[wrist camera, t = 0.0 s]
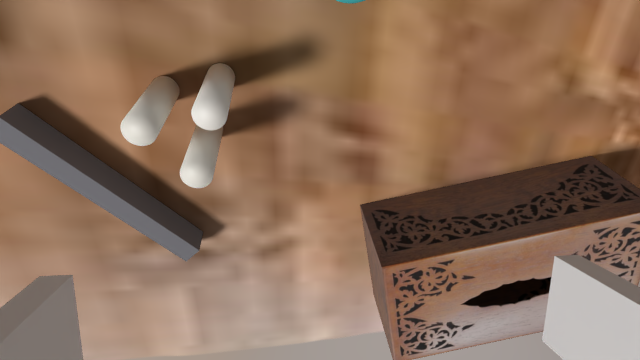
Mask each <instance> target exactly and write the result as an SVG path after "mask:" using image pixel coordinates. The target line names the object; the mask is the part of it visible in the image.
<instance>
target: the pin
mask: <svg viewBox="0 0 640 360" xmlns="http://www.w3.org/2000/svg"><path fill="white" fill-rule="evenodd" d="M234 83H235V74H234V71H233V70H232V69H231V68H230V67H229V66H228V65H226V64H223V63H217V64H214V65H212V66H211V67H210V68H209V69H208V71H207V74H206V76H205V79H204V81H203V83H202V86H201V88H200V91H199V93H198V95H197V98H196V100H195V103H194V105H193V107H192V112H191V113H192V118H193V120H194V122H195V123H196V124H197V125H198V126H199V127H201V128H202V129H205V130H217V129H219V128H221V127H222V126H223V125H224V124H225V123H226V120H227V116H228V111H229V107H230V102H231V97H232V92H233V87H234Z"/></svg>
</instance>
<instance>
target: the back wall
mask: <svg viewBox="0 0 640 360" xmlns="http://www.w3.org/2000/svg"><path fill="white" fill-rule="evenodd" d="M0 143H1V144H3V145H4V146H6V147H8V148H9V149H11V150H12V151H14V152H15V153H17V154H18V155H20V156H22V157H23V158H25V159H26V160H28V161H29V162H31V163H33V164H34V165H36V166H37V167H39V168H40V169H42V170H44V171H45V172H47V173H48V174H50V175H51V176H53V177H55V178H56V179H58V180H59V181H61V182H62V183H64V184H66V185H67V186H69V187H70V188H72V189H73V190H75V191H77V192H78V193H80V194H81V195H83V196H84V197H86V198H88V199H89V200H91V201H92V202H94V203H95V204H97V205H99V206H100V207H102V208H103V209H105V210H106V211H108V212H109V213H111V214H113V215H114V216H116V217H117V218H119V219H120V220H122V221H124V222H125V223H127V224H128V225H130V226H131V227H133V228H135V229H136V230H138V231H139V232H141V233H142V234H144V235H146V236H147V237H149V238H150V239H152V240H153V241H155V242H157V243H158V244H160V245H161V246H163V247H164V248H166V249H168V250H169V251H171V252H172V253H174V254H175V255H177V256H179V257H180V258H182V259H183V260H185V261H187V260H188V259H190V258H191V257H192V256H193V255H194V254H196V253H197V252H198V251H199V249H200V245H201V240H202V235H203V231H201V230H200V229H198V228H197V227H195V226H194V225H193V224H191V223H190V222H188V221H187V220H185V219H184V218H182V217H181V216H180V215H178V214H177V213H175V212H174V211H172V210H171V209H170V208H168V207H167V206H165V205H164V204H162V203H161V202H159V201H158V200H157V199H155V198H154V197H152V196H151V195H149V194H148V193H147V192H145V191H144V190H142V189H141V188H139V187H138V186H136V185H135V184H134V183H132V182H131V181H129V180H128V179H126V178H125V177H124V176H122V175H121V174H119V173H118V172H116V171H115V170H113V169H112V168H111V167H109V166H108V165H106V164H105V163H103V162H102V161H101V160H99V159H98V158H96V157H95V156H93V155H92V154H90V153H89V152H88V151H86V150H85V149H83V148H82V147H80V146H79V145H78V144H76V143H75V142H73V141H72V140H70V139H69V138H67V137H66V136H65V135H63V134H62V133H60V132H59V131H57V130H56V129H54V128H53V127H52V126H50V125H49V124H47V123H46V122H44V121H43V120H42V119H40V118H39V117H37V116H36V115H34V114H33V113H31V112H30V111H29V110H27V109H26V108H24V107H23V106H21V105H20V104H19V103H18V104H16V105H15V106H13V107H12V108H10V109H9V110H8V111H6V112H5V113H3V114H2V115H0Z"/></svg>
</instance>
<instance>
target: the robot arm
mask: <svg viewBox="0 0 640 360" xmlns="http://www.w3.org/2000/svg"><path fill="white" fill-rule="evenodd" d="M542 341H543V342H544V343H546V344H547V345H548V346H549V347H550V348H551V349H552V350H553V351H554V352H555V353H557V354H558V355H559V356H560V357H561V358H562V359H563V360H640V287H638V286H636V285H634V284H632V283H631V282H629V281H627V280H625V279H623V278H621V277H619V276H617V275H615V274H614V273H612V272H610V271H608V270H606V269H604V268H602V267H600V266H599V265H597V264H595V263H593V262H591V261H589V260H587V259H585V258H584V257H582V256H580V255H564V256H555V257H554V263H553V270H552V277H551V284H550V290H549V297H548V304H547V311H546V317H545V324H544V331H543V338H542ZM0 360H83V353H82V345H81V338H80V330H79V322H78V314H77V306H76V298H75V290H74V283H73V275H58V276H39V277H38V278H37V279H36V280H34V281H33V282H32V283H31V284H29V285H28V286H27V287H26V288H25V289H23V290H22V291H21V292H20V293H18V294H17V295H16V296H15V297H13V298H12V299H11V300H10V301H9V302H7V303H6V304H5V305H4V306H2V307H1V308H0Z"/></svg>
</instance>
